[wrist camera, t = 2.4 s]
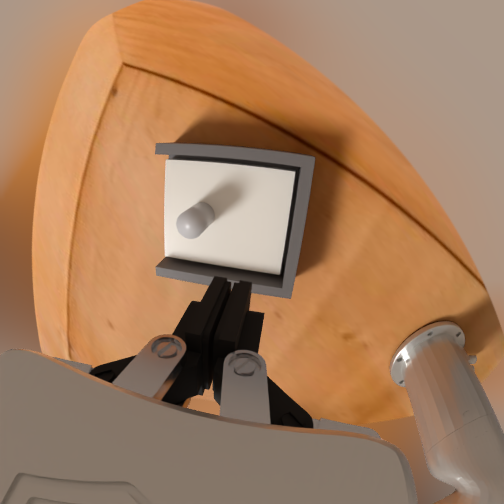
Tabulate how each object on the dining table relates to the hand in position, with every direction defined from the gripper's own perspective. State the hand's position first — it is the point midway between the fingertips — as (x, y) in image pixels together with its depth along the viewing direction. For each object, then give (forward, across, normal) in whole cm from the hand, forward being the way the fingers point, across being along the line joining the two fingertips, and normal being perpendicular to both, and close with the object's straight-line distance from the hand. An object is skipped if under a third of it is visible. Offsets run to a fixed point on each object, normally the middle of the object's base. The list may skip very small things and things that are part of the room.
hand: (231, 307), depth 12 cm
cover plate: (+15, +4, 0) cm, 16 cm away
